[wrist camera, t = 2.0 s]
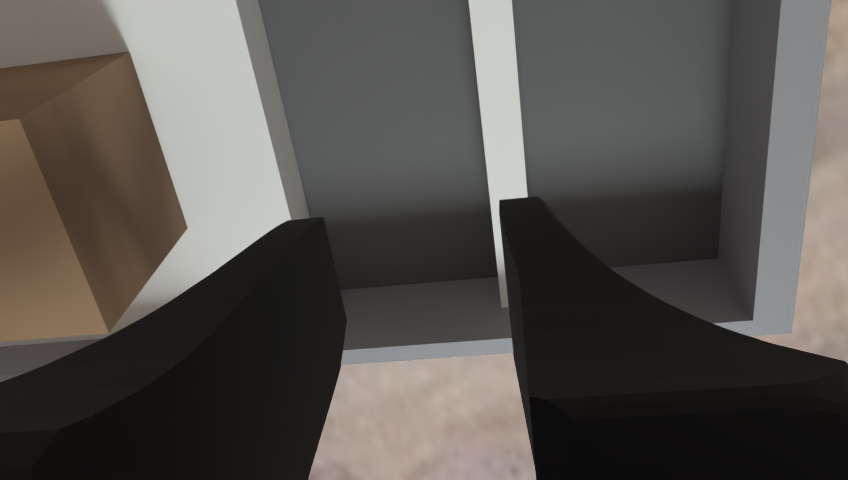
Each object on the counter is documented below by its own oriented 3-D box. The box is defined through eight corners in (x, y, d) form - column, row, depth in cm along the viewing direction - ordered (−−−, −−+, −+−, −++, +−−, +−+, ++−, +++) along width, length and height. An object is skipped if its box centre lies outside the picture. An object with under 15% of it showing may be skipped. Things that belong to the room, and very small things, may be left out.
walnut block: (187, 227, 21) (108, 333, 16) (24, 243, 21) (-95, 349, 17) (129, 51, 18) (18, 119, 14) (-53, 75, 19) (-213, 147, 15)
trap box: (748, 264, 22) (791, 333, 19) (-233, 345, 26) (-327, 411, 23) (789, -241, 16) (861, -259, 13) (-494, -31, 20) (-667, -8, 17)
